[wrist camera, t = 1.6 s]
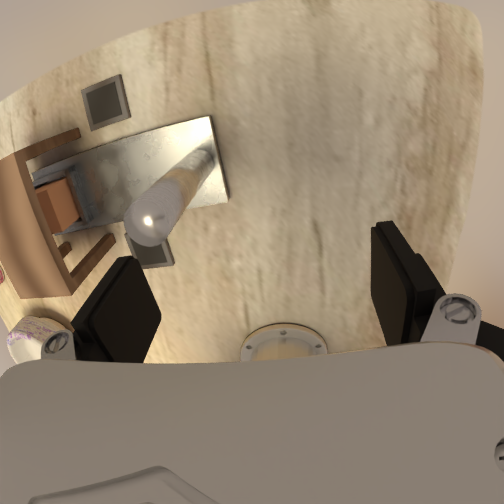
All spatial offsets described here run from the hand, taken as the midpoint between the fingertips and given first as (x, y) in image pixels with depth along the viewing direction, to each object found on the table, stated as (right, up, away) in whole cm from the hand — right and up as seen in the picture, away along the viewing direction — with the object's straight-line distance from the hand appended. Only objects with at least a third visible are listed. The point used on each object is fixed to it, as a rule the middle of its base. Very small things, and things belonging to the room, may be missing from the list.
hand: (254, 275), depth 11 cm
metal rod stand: (-15, +9, +22) cm, 28 cm away
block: (-23, +7, +22) cm, 33 cm away
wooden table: (-26, +8, +24) cm, 36 cm away
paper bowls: (-36, -15, +38) cm, 54 cm away
